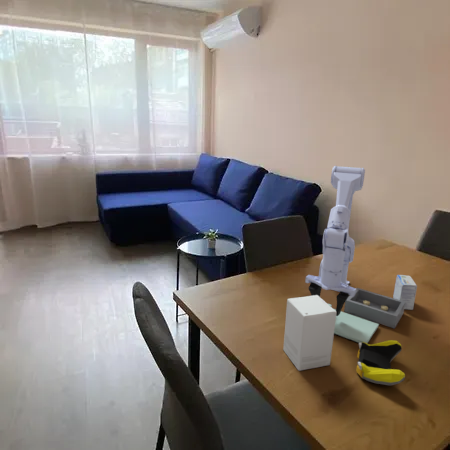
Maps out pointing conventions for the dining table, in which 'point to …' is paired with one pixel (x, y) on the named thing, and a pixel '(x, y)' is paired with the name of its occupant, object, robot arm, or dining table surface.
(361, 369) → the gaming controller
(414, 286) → the medicine box
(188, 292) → the dining table surface
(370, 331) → the lid
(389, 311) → the tub
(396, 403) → the dining table surface
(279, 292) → the dining table surface
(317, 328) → the supplement box
